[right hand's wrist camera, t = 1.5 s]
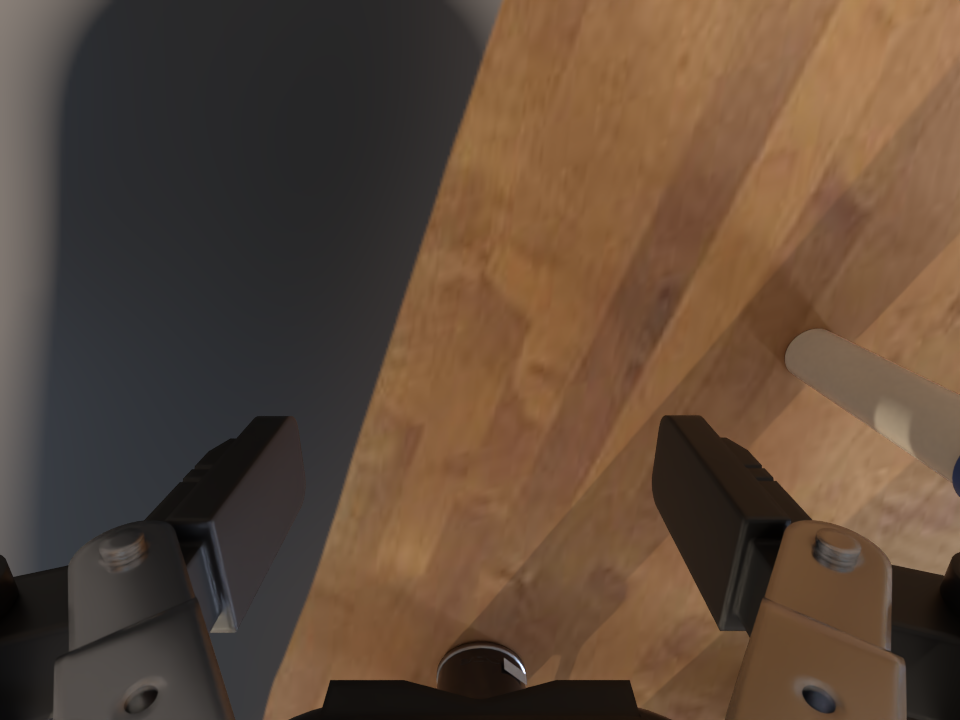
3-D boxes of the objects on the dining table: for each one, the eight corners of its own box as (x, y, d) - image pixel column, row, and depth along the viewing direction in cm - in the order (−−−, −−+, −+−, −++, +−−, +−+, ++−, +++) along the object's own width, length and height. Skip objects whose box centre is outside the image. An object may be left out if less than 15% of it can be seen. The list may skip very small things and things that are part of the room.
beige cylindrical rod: (774, 368, 42) (962, 500, 26) (803, 320, 41) (1023, 429, 24) (819, 385, 43) (1031, 525, 26) (850, 339, 41) (1095, 456, 25)
